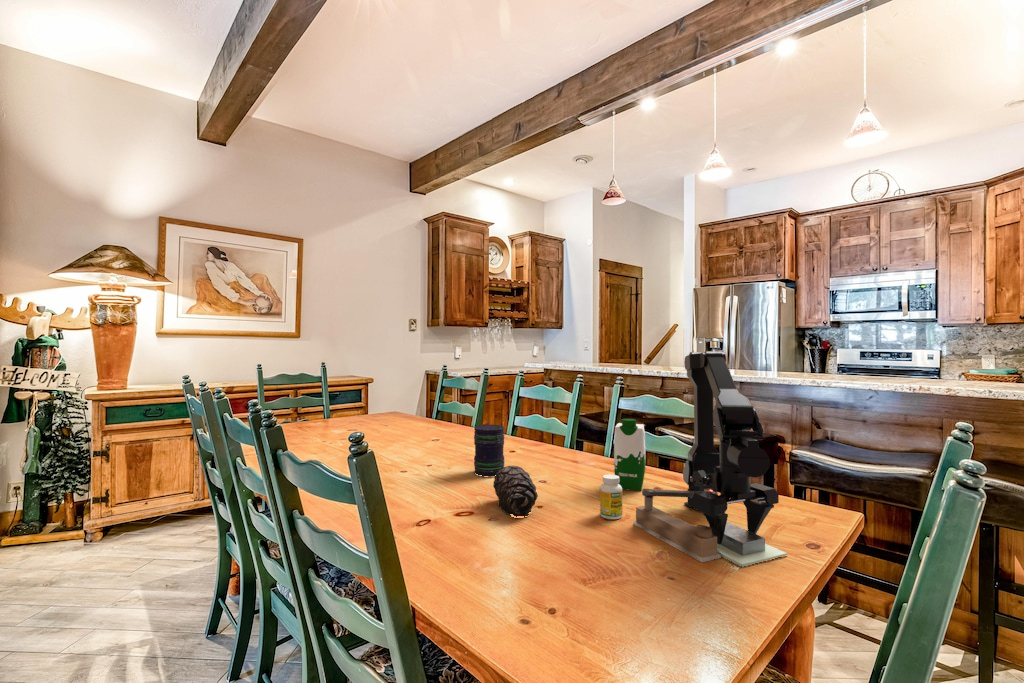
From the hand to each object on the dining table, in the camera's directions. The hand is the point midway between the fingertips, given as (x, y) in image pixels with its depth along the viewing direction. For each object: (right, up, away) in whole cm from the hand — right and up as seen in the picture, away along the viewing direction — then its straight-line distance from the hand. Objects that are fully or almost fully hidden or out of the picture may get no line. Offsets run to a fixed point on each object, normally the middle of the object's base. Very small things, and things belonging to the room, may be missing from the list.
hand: (735, 539), depth 97 cm
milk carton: (-11, -2, +42) cm, 43 cm away
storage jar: (-53, -2, +57) cm, 78 cm away
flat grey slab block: (0, -1, 0) cm, 1 cm away
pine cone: (-44, -2, +24) cm, 50 cm away
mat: (0, -2, 0) cm, 2 cm away
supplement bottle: (-22, -2, +18) cm, 28 cm away
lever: (-8, +6, +11) cm, 14 cm away
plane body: (-11, -2, +4) cm, 12 cm away
